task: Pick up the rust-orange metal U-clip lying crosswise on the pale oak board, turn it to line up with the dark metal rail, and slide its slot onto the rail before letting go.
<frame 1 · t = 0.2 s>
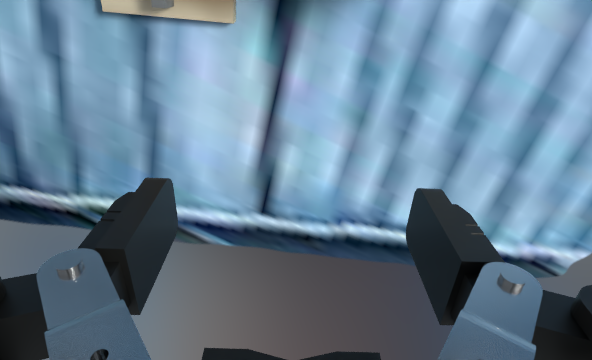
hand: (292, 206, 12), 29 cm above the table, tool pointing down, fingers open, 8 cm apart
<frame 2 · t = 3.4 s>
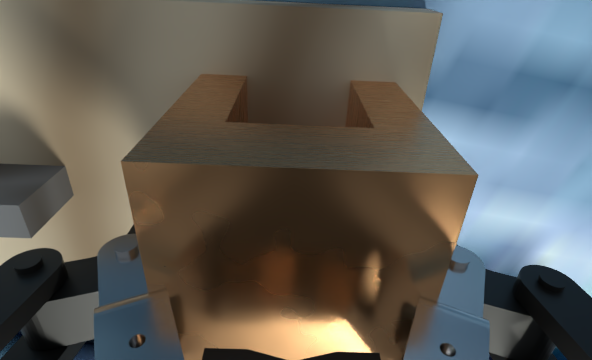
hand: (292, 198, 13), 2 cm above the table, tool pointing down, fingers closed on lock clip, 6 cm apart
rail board: (115, 163, 15), on the table
lock clip: (293, 189, 13), point 1 cm above the table, touching gripper, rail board
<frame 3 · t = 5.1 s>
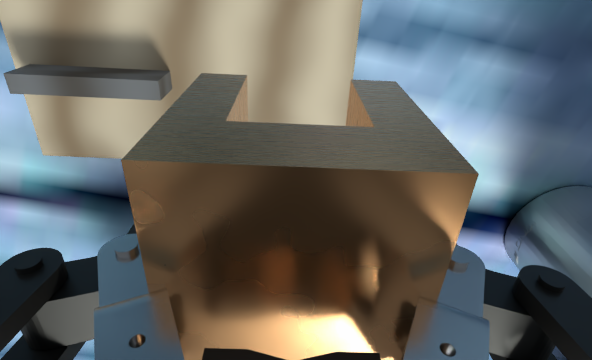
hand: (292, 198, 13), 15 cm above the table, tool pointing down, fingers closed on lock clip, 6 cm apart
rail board: (191, 75, 26), on the table
lock clip: (293, 188, 13), point 15 cm above the table, touching gripper
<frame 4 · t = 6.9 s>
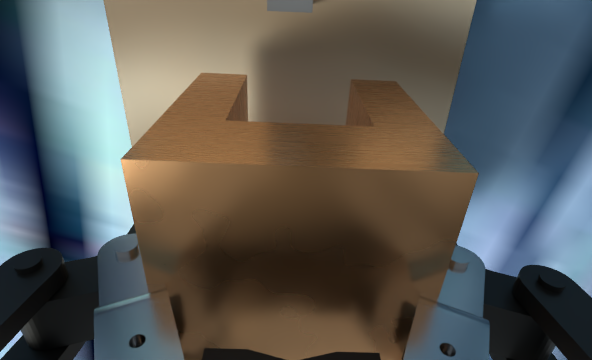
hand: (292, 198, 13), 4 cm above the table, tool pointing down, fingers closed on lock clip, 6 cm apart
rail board: (289, 31, 14), on the table
lock clip: (293, 188, 13), point 3 cm above the table, touching gripper
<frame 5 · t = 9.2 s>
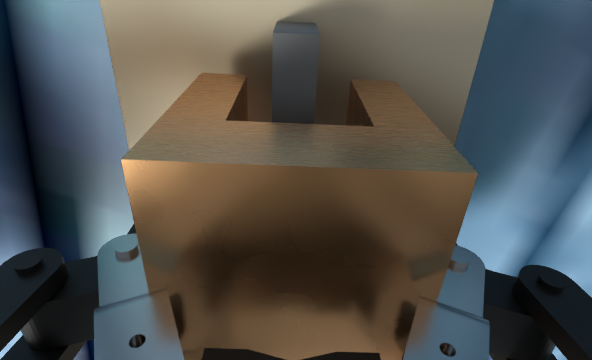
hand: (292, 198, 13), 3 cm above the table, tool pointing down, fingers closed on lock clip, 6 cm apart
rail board: (287, 243, 18), on the table
lock clip: (293, 188, 13), point 2 cm above the table, touching gripper
when the fingers open (3 cm above the table, at t = 10.8 s): lock clip stays where it is, resting on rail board.
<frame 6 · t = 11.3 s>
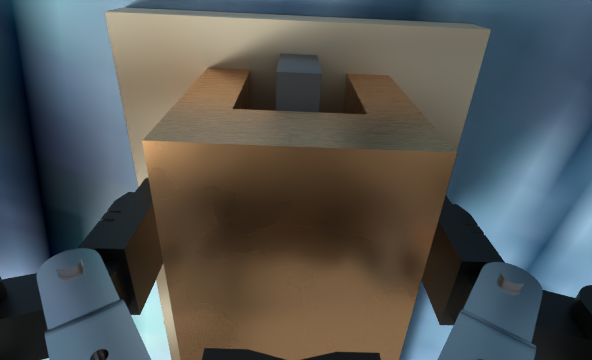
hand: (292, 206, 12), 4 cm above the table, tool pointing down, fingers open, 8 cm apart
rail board: (288, 259, 18), on the table
lock clip: (294, 177, 14), point 1 cm above the table, touching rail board
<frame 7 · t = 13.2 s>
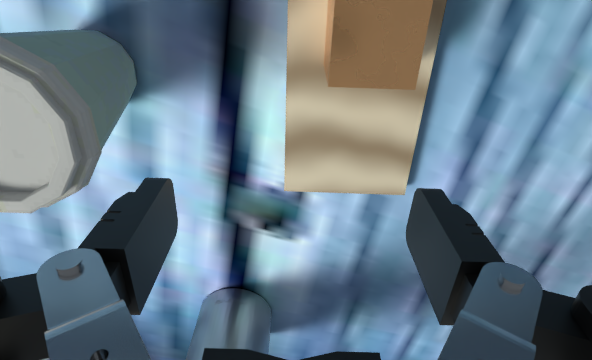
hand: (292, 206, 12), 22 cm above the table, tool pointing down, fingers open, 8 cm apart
disposable coffee cup: (105, 69, 33), on the table
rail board: (355, 78, 33), on the table
lock clip: (366, 13, 29), point 1 cm above the table, touching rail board
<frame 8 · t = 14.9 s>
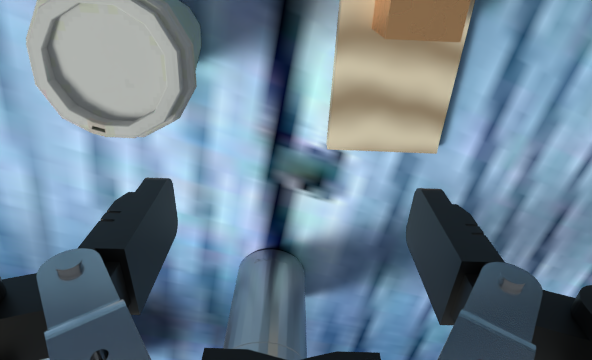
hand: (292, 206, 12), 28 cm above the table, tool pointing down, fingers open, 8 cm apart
disposable coffee cup: (172, 33, 36), on the table
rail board: (396, 43, 37), on the table
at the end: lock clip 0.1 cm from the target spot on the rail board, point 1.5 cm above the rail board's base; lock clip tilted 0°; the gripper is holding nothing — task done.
